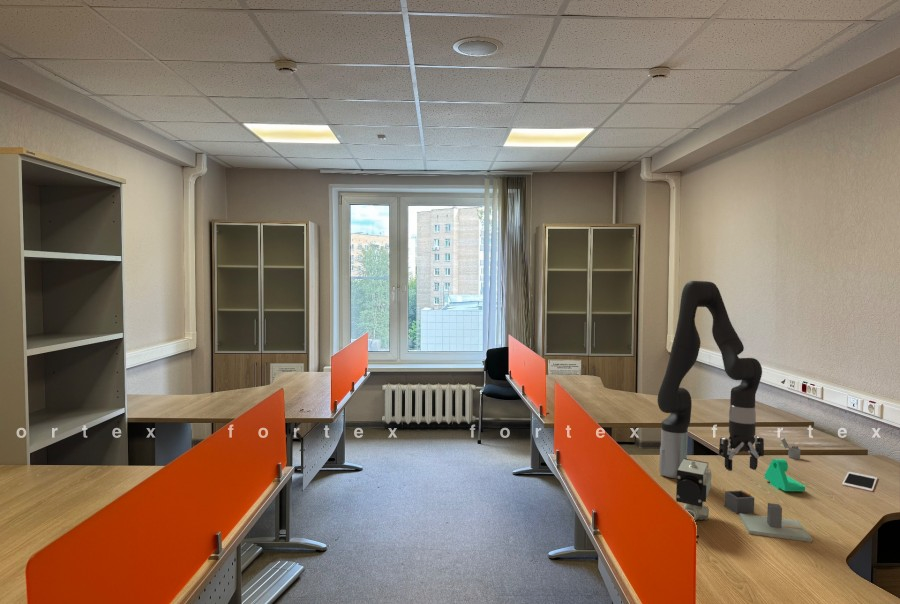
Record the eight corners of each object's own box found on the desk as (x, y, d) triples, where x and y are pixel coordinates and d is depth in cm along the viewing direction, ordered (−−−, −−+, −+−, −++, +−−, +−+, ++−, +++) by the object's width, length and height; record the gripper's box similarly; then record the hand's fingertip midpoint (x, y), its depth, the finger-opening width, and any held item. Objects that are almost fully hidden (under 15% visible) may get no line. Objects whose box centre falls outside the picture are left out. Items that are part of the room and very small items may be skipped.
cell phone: (877, 479, 201) (877, 477, 201) (872, 493, 188) (872, 490, 188) (848, 473, 207) (848, 471, 207) (841, 486, 194) (841, 483, 194)
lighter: (799, 458, 224) (800, 439, 223) (800, 459, 222) (800, 440, 222) (780, 455, 227) (780, 436, 227) (780, 456, 226) (780, 437, 225)
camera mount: (806, 494, 186) (807, 465, 185) (784, 494, 186) (785, 465, 185) (784, 481, 198) (785, 454, 197) (764, 481, 198) (765, 453, 197)
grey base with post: (749, 533, 155) (750, 510, 155) (739, 516, 167) (740, 494, 167) (812, 542, 151) (813, 517, 151) (797, 523, 162) (798, 501, 162)
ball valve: (705, 532, 156) (707, 473, 155) (674, 525, 160) (676, 467, 160) (712, 510, 171) (713, 456, 170) (683, 504, 176) (685, 451, 175)
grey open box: (736, 514, 169) (737, 497, 168) (724, 506, 174) (725, 490, 174) (753, 513, 169) (754, 496, 169) (741, 505, 175) (741, 489, 175)
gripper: (729, 423, 166) (728, 474, 166) (770, 422, 168) (769, 472, 169) (714, 417, 173) (713, 466, 174) (753, 416, 175) (752, 464, 176)
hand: (741, 469), depth 171 cm, fingers open, 8 cm apart
